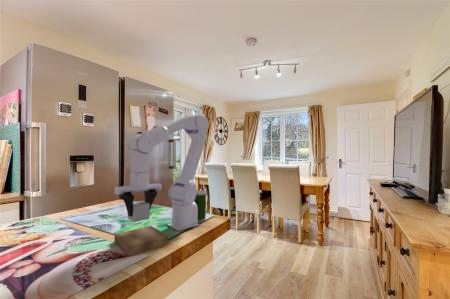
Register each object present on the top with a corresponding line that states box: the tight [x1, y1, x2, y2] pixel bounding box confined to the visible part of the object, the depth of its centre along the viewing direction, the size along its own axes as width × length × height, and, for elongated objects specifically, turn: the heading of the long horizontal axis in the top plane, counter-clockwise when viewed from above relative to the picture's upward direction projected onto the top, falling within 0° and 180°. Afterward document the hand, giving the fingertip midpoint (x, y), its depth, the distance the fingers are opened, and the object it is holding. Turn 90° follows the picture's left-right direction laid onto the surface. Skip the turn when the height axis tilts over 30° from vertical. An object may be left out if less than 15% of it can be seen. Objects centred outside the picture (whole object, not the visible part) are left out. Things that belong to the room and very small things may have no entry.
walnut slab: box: [114, 225, 169, 257], centre depth 70 cm, size 12×12×3 cm
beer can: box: [194, 189, 207, 222], centre depth 94 cm, size 5×5×12 cm
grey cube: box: [127, 200, 151, 223], centre depth 72 cm, size 5×5×5 cm
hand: (138, 214), depth 72 cm, fingers closed on grey cube, 5 cm apart
